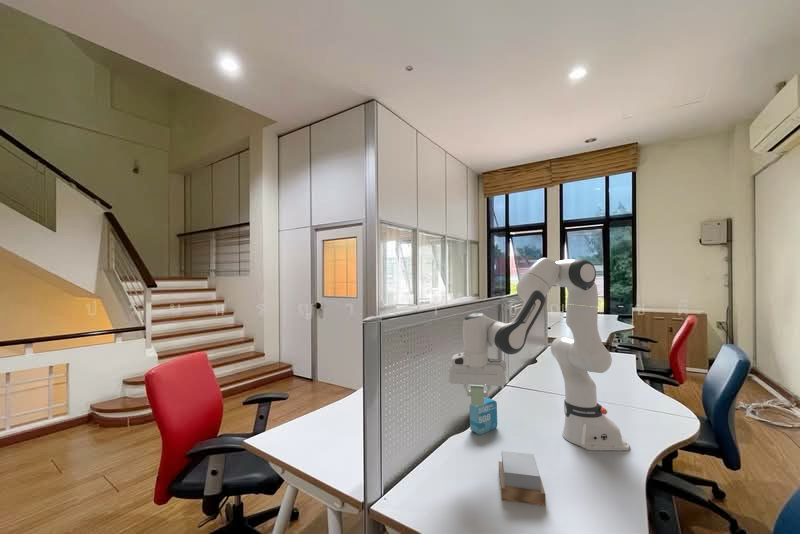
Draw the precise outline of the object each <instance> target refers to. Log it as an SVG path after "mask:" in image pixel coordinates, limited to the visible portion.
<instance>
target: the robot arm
mask: <svg viewBox="0 0 800 534" xmlns="http://www.w3.org/2000/svg"><path fill="white" fill-rule="evenodd" d="M596 276H597V270H596V267H595V266H594V264H593V263H592V261H590V260H587V259H582V258H580V259H578V258H577V259H575V258H573V259H571V258H570V259H561V260H554V259H551V258H550V257H542V258H539V259H538V260H536V261H535V262H534V263H533V264H532V265H531V266H529V268H528V269H527V270H526V271H525V272H524V274H523V275H522V276H521V277H520V279H519V280H518V282H517V284H516V286H515V287H516V289H515V290H516V293H517V296H518V297H519V298H520V299H521V301H523V303H522V306H521V308H520V309H519V311H518V313H517V314H516V315H515V317H514V319H513V320H512V321H510V322H508V323H506V322H503V321H499V320H496V319H493V318H490V317H488V316H487V315H485V314H484V313H482V312H477V313H475V312H474V313H470V314H468V315H466V316H465V317H464V318H463V321H462V339H463V340H462V341H463V348H462V349H463V352H460V353H456V354H453V355H452V357H451V364H450V366H449V372H448V382H449V383H450V384H453V385H463V388H464V390H465V392H466V396H467V397H471V389H469V387H468V385H469V386H471V385H483V386H486V389H485V390H484V398H489V392H490V390H491V387H492V386H494V387H495V386H496V387H497V386H498V387H504V386H505V385H506V384H507V380H506V373H505V371H506V370H507V363H506V361H504V360H503V359H502V358H489V348H490V347H493V348H495V349H498V350H499V351H501V352H503V353H505V354H507V355H516V354H518V353H519V352H521V351H522V350H523V348H524V347H525V345H526V341H527V338H528V335H529V334H530V333H529V332H530V331H531V329H532V328H533V325H534V324H535V322H536V320H537V319H538V317H539V315H540V314H541V312H542V310H543V308H544V306H545V303H546V296H547V294H548V293H549V292H550V291H551V289H552V288H553V287H560V288H566V290H567V292H568V293H567V299H566V312H565V324H566V326H567V327H568V328H569V329H570V331H571V333H572V336H573V337H569V336H567V337H566V336H565V337H563V336H561V337H557V338H554V340H553V341H552V343H551V344H550V352H551V355H552V356H553V357H554V358H555V361H557V363H558V366H559V369H560V371H561V375H562V377H563V383H564V395H565V396H564V398H565V399H563V400H564V401H563V409H564V411H563V412H564V415H565V417H564V425H563V429H562V434H561V435H562V437H563V438H564V439H565V440H566V441H568V442H570V443H572V444H574V445H577V446H579V447H581V448H583V449H585V450H587V451H629V450H630V444H629V442H628V440H627V439H626V438H625V437H624V436H623V435H622V433H621V430H620V428H619V426H618V425H617V424H616V423H615V422H614V420H612V419H610V418H609V417H608V416H606V415H607V414H608V410H607V409H606V408H605V407H603V406H602V405H601V404H599V403H598V399H597V398H598V397H597V385H596V383H595V381H594V379H592V377H591V376H590V374H589V373H593V374H594V373H595V374H602V373H603V374H604V373H606V372H607V371H608V370H609V369H610V368H611V366H612V364H613V363H612V361H613V360H612V359H613V357H612V355H611V352H610V351H609V350H608V349H607V348H606V346H605V345H604V343H603V341H602V339H601V337H600V333H599V327H598V319H599V318H598V317H599V316H598V313H599V312H598V311H599V293H598V288H597V287H598V286H597V284H596V282H595V281H596V278H597V277H596Z"/></svg>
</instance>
